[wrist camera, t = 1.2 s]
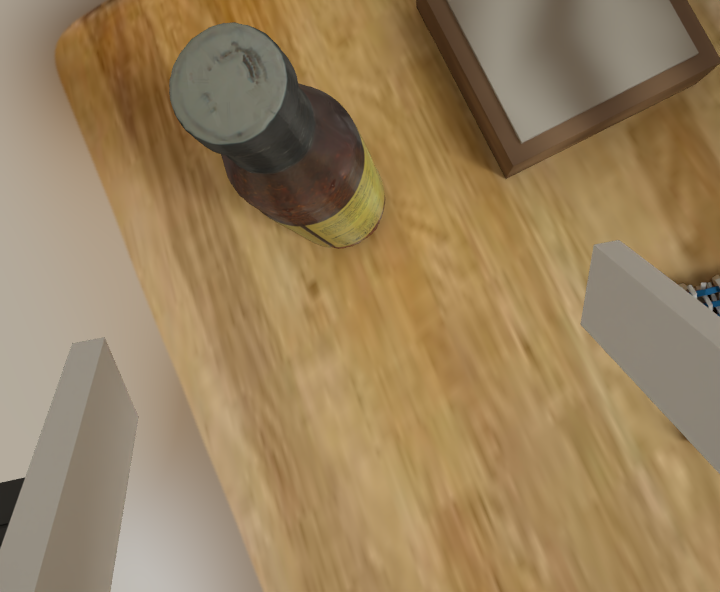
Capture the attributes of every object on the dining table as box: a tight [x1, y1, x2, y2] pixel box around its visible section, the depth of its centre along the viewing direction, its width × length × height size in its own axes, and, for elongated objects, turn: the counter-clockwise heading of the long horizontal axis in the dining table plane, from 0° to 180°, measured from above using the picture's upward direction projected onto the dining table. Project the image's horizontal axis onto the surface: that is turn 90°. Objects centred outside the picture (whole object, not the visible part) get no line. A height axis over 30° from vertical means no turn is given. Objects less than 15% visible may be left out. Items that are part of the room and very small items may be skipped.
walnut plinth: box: [416, 0, 720, 178], centre depth 35 cm, size 13×13×3 cm
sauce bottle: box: [169, 23, 385, 249], centre depth 28 cm, size 7×6×20 cm
